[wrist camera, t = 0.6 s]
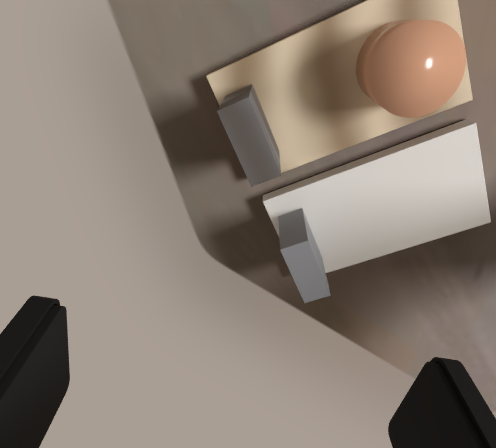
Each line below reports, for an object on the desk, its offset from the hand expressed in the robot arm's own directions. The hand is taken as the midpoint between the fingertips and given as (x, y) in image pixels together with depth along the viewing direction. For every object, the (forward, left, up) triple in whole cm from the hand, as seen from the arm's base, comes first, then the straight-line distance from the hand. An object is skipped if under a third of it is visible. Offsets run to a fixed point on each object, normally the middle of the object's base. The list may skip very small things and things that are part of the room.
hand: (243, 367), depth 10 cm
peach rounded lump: (-11, -1, -25) cm, 28 cm away
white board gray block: (-7, +11, -27) cm, 30 cm away
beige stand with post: (-7, -1, -27) cm, 28 cm away
